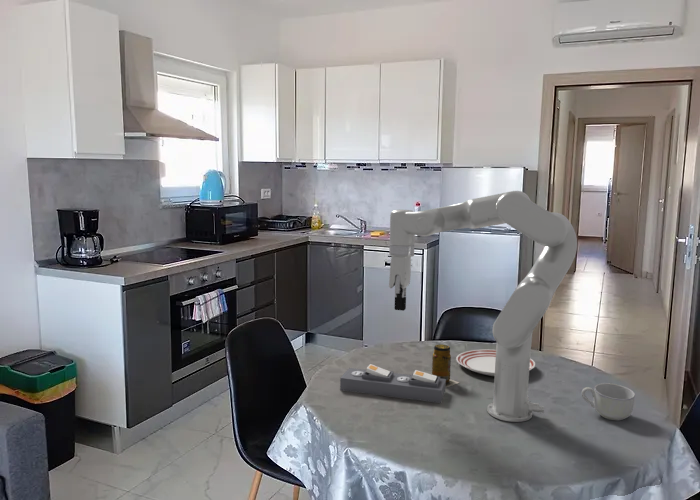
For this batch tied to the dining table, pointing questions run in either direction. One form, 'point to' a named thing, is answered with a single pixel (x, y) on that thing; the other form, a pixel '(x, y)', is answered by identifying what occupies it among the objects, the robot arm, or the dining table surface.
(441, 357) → the condiment
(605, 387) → the teacup
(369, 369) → the far rocker
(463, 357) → the dinner plate
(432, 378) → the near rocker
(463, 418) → the dining table surface
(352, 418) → the dining table surface
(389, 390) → the rocker switch panel
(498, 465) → the dining table surface
